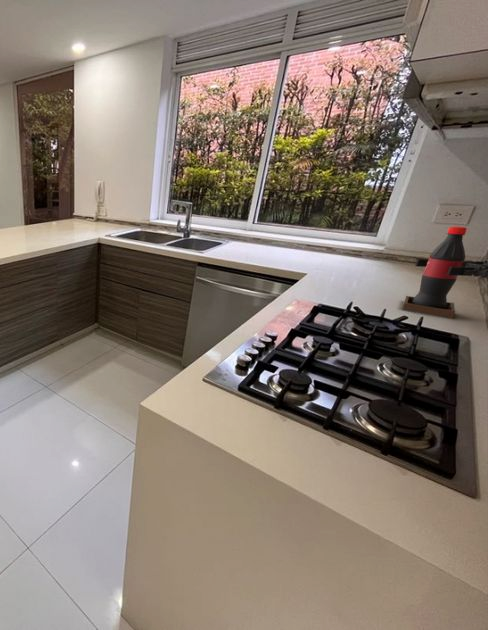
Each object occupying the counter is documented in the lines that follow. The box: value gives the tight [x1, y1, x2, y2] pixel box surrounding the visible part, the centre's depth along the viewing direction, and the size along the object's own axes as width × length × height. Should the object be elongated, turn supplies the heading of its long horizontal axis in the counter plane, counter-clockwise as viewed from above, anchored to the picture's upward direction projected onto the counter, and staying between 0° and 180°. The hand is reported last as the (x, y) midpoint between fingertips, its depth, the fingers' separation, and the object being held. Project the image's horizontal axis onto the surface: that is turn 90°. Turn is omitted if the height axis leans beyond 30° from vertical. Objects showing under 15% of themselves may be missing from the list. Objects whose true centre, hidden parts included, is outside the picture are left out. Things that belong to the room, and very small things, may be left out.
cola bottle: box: [412, 226, 468, 309], centre depth 118 cm, size 8×8×30 cm
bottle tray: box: [401, 295, 456, 319], centre depth 123 cm, size 13×13×4 cm
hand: (432, 266), depth 118 cm, fingers open, 13 cm apart
